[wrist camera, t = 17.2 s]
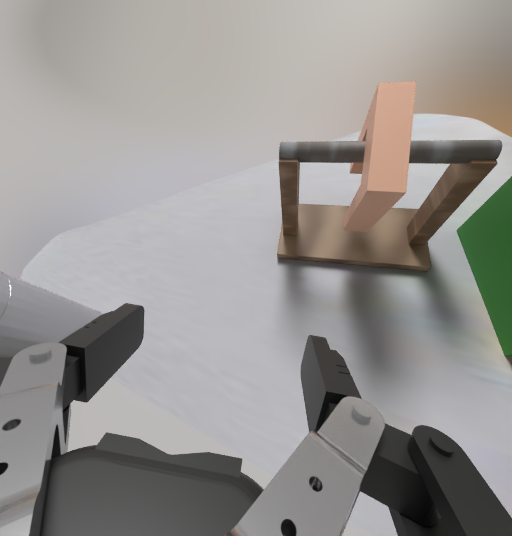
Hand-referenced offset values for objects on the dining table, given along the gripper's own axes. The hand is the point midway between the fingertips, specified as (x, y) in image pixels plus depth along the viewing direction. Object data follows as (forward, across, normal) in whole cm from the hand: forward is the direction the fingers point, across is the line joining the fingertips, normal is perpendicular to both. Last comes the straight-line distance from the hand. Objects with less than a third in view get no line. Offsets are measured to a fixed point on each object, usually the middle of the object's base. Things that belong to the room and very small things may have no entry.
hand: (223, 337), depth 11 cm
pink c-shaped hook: (+24, +12, +9) cm, 29 cm away
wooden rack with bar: (+28, +14, +3) cm, 32 cm away
